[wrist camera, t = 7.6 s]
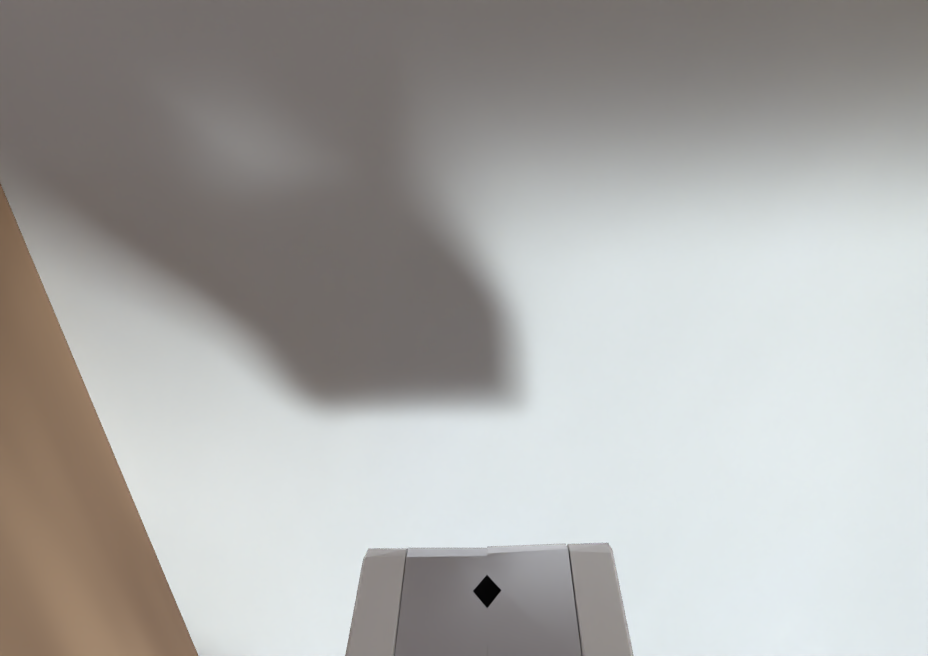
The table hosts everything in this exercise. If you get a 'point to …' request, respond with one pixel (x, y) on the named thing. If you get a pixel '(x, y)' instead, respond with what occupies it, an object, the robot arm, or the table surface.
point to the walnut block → (66, 498)
